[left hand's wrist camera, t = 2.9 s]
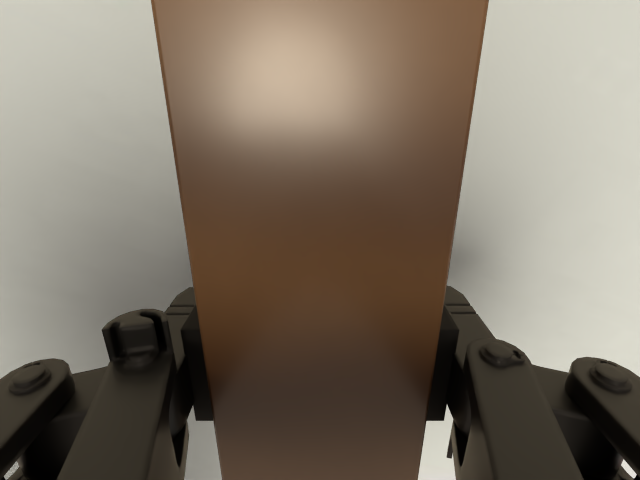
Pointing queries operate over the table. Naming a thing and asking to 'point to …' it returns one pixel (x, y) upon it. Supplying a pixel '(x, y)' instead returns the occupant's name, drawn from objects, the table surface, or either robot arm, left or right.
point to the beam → (319, 218)
